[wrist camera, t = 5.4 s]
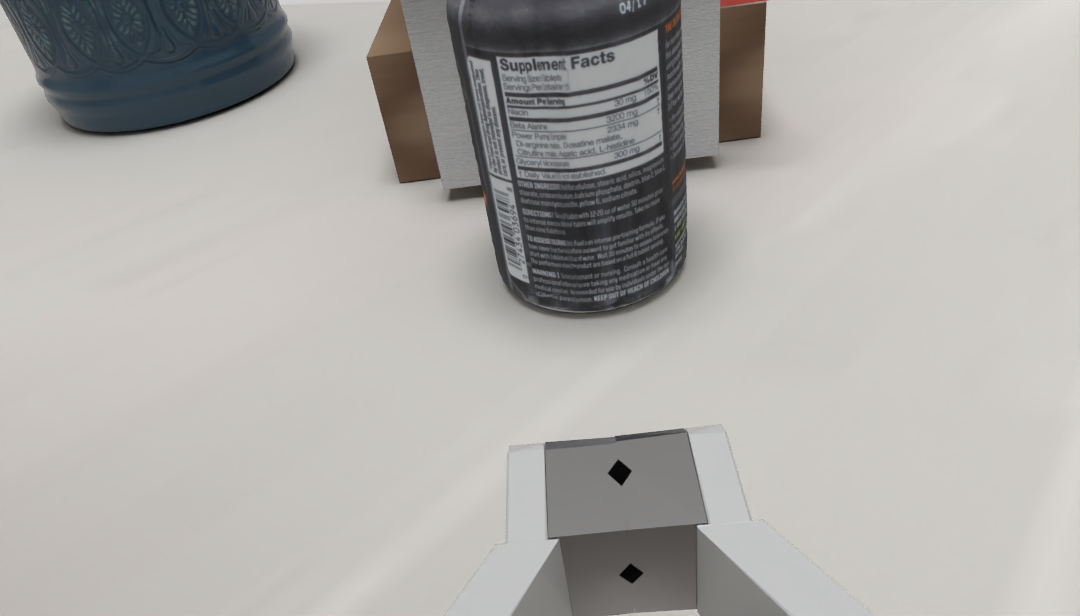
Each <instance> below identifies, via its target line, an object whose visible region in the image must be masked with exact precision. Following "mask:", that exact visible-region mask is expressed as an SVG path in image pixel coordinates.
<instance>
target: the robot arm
mask: <svg viewBox="0 0 1080 616" xmlns="http://www.w3.org/2000/svg"><path fill="white" fill-rule="evenodd" d="M634 608H635V609H634ZM689 609H697V612H698V613H699V615H700V616H875V615H874V614H873V613H871V612H870V611H869V610H868V609H867V608H866V607H864V606H863V605H862V604H861V603H860V602H859V601H857V600H856V599H855V598H854V597H853V596H852V595H850V594H849V593H848V592H847V591H846V590H845V589H843V588H842V587H841V586H840V585H839V584H838V583H836V582H835V581H834V580H833V579H832V578H831V577H829V576H828V575H827V574H826V573H825V572H824V571H822V570H821V569H820V568H819V567H818V566H817V565H816V564H814V563H813V562H812V561H811V560H810V559H809V558H807V557H806V556H805V555H804V554H803V553H802V552H800V551H799V550H798V549H797V548H796V547H795V546H793V545H792V544H791V543H790V542H789V541H788V540H786V539H785V538H784V537H783V536H782V535H781V534H779V533H778V532H777V531H776V530H775V529H774V528H772V527H771V526H770V525H769V524H768V523H767V522H765V521H764V520H752V519H751V515H750V512H749V508H748V505H747V501H746V498H745V495H744V491H743V488H742V484H741V481H740V477H739V474H738V471H737V467H736V464H735V460H734V457H733V453H732V450H731V447H730V443H729V440H728V436H727V433H726V430H725V429H724V427H723V426H722V425H714V426H704V427H695V428H686V430H685V429H684V428H683V429H674V430H665V431H657V432H648V433H639V434H630V435H621V436H615V437H609V438H596V439H583V440H570V441H557V442H545V443H538V444H526V445H513V446H509V450H508V454H507V495H506V543H505V544H497V545H495V546H494V547H493V548H492V550H491V551H490V553H489V554H488V555H487V557H486V558H485V560H484V561H483V562H482V564H481V565H480V567H479V568H478V569H477V571H476V572H475V574H474V575H473V576H472V578H471V579H470V581H469V582H468V583H467V585H466V586H465V588H464V589H463V590H462V592H461V593H460V594H459V596H458V597H457V599H456V600H455V601H454V603H453V604H452V606H451V607H450V608H449V610H448V611H447V613H446V614H445V615H444V616H611V615H620V614H628V613H640V612H656V611H672V610H689Z"/></svg>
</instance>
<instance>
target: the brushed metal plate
mask: <svg viewBox="0 0 1080 616" xmlns="http://www.w3.org/2000/svg"><path fill="white" fill-rule="evenodd" d="M400 1H401V5H402V9H403V14H404V18H405V22H406V27H407V31H408V36H409V40H410V44H411V49H412V53H413V57H414V62H415V66H416V70H417V75H418V79H419V84H420V88H421V92H422V97H423V101H424V105H425V110H426V114H427V118H428V123H429V127H430V132H431V136H432V140H433V145H434V149H435V153H436V158H437V162H438V166H439V171H440V175H441V180H442V184H443V188H444V190H446V189H453V188H461V187H469V186H477V185H481V181H480V176H479V171H478V165H477V161H476V158H475V152H474V147H473V144H472V137H471V132H470V128H469V123H468V118H467V113H466V110H465V103H464V98H463V93H462V88H461V84H460V79H459V74H458V70H457V66H456V60H455V55H454V51H453V45H452V41H451V34H450V29H449V25H448V21H447V12H446V2H447V0H400ZM759 1H767V0H681V29H682V59H683V89H684V121H685V146H686V159H689V158H697V157H705V156H713V155H719V64H720V7H723V6H730V5H738V4H745V3H752V2H759Z"/></svg>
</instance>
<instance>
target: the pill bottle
mask: <svg viewBox="0 0 1080 616" xmlns="http://www.w3.org/2000/svg"><path fill="white" fill-rule="evenodd" d="M446 12H447V21H448V25H449V29H450V34H451V41H452V45H453V51H454V55H455V60H456V66H457V70H458V74H459V79H460V84H461V88H462V93H463V98H464V103H465V110H466V113H467V118H468V123H469V128H470V132H471V137H472V144H473V147H474V152H475V158H476V161H477V165H478V171H479V176H480V181H481V185H482V190H483V194H484V199H485V205H486V210H487V216H488V220H489V226H490V230H491V236H492V241H493V245H494V248H495V254H496V259H497V263H498V268H499V272H500V274H501V276H502V278H503V281H504V282H505V283H506V285H507V286H508V288H509V289H510V290H511V291H513V292H514V293H515V294H516V295H517V296H519V297H520V298H522V299H524V300H526V301H528V302H530V303H532V304H535V305H538V306H540V307H543V308H548V309H552V310H557V311H564V312H577V313H578V312H597V311H605V310H611V309H615V308H619V307H623V306H626V305H629V304H632V303H635V302H637V301H640V300H642V299H644V298H646V297H648V296H650V295H652V294H654V293H655V292H657V291H659V290H660V289H661V288H662V287H664V286H665V285H666V284H668V283H669V282H670V281H671V280H672V279H673V278H674V277H675V276H676V274H677V273H678V271H679V269H680V268H681V266H682V264H683V262H684V260H685V257H686V248H687V229H686V223H687V218H686V217H687V194H686V188H687V187H686V162H685V161H686V146H685V121H684V89H683V59H682V29H681V0H447V2H446Z"/></svg>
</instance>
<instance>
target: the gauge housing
mask: <svg viewBox="0 0 1080 616" xmlns="http://www.w3.org/2000/svg"><path fill="white" fill-rule="evenodd" d="M765 22H766V1H759V2H752V3H745V4H738V5H730V6H723V7H720V64H719V142H721V141H728V140H736V139H744V138H752V137H760V134H761V111H762V89H763V67H764V45H765ZM367 61H368V65H369V69H370V72H371V76H372V80H373V84H374V87H375V91H376V95H377V99H378V102H379V106H380V110H381V114H382V118H383V121H384V125H385V129H386V133H387V136H388V140H389V144H390V148H391V151H392V155H393V159H394V163H395V166H396V170H397V174H398V178H399V181H400V183H401V182H409V181H416V180H424V179H432V178H440V171H439V166H438V162H437V158H436V153H435V149H434V145H433V140H432V136H431V132H430V127H429V123H428V118H427V114H426V110H425V105H424V101H423V97H422V92H421V88H420V84H419V79H418V75H417V70H416V66H415V62H414V57H413V53H412V49H411V44H410V40H409V36H408V31H407V27H406V22H405V18H404V14H403V9H402V5H401V1H400V0H391V2H390V4H389V7H388V9H387V11H386V13H385V16H384V18H383V20H382V23H381V25H380V27H379V30H378V32H377V34H376V37H375V39H374V41H373V43H372V46H371V48H370V50H369V53H368V55H367Z"/></svg>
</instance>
